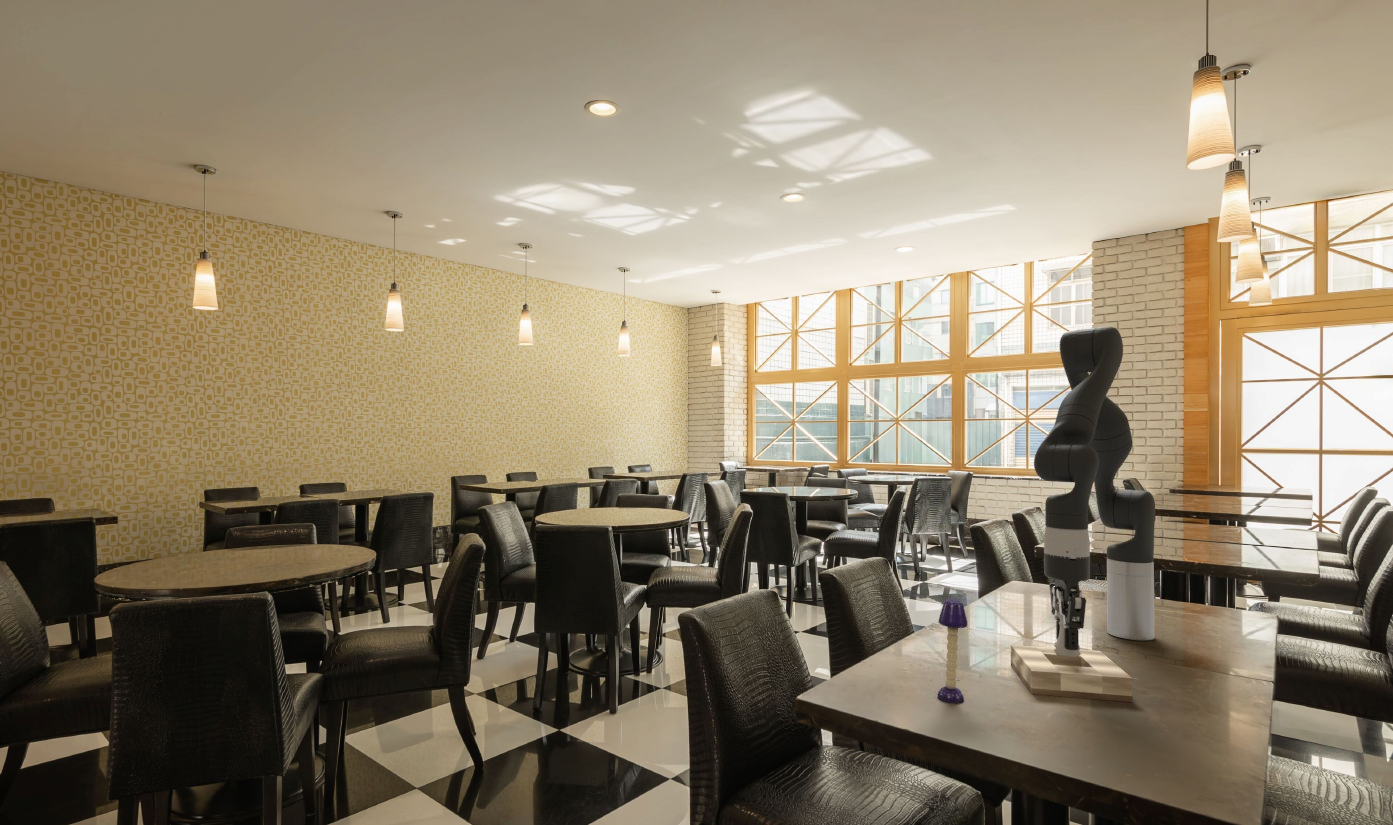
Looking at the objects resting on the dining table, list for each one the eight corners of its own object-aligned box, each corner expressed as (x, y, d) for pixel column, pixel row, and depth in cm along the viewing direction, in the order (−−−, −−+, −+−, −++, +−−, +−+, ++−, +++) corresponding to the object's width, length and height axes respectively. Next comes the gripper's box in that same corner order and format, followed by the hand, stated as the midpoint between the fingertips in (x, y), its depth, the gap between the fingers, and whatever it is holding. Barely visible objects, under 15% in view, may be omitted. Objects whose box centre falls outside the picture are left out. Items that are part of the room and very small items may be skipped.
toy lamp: (967, 696, 122) (966, 599, 123) (967, 705, 118) (967, 604, 119) (937, 692, 124) (937, 596, 125) (937, 702, 120) (937, 602, 120)
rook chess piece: (1084, 659, 128) (1084, 614, 128) (1057, 657, 129) (1057, 612, 129) (1076, 651, 132) (1076, 608, 132) (1050, 650, 133) (1050, 607, 133)
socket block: (1010, 665, 140) (1010, 644, 140) (1099, 672, 136) (1099, 650, 137) (1031, 693, 124) (1031, 670, 124) (1132, 702, 121) (1132, 678, 121)
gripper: (1034, 545, 139) (1035, 633, 138) (1055, 557, 125) (1056, 655, 124) (1076, 547, 137) (1077, 636, 137) (1102, 559, 123) (1103, 659, 123)
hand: (1067, 645), depth 131 cm, fingers closed on rook chess piece, 4 cm apart
